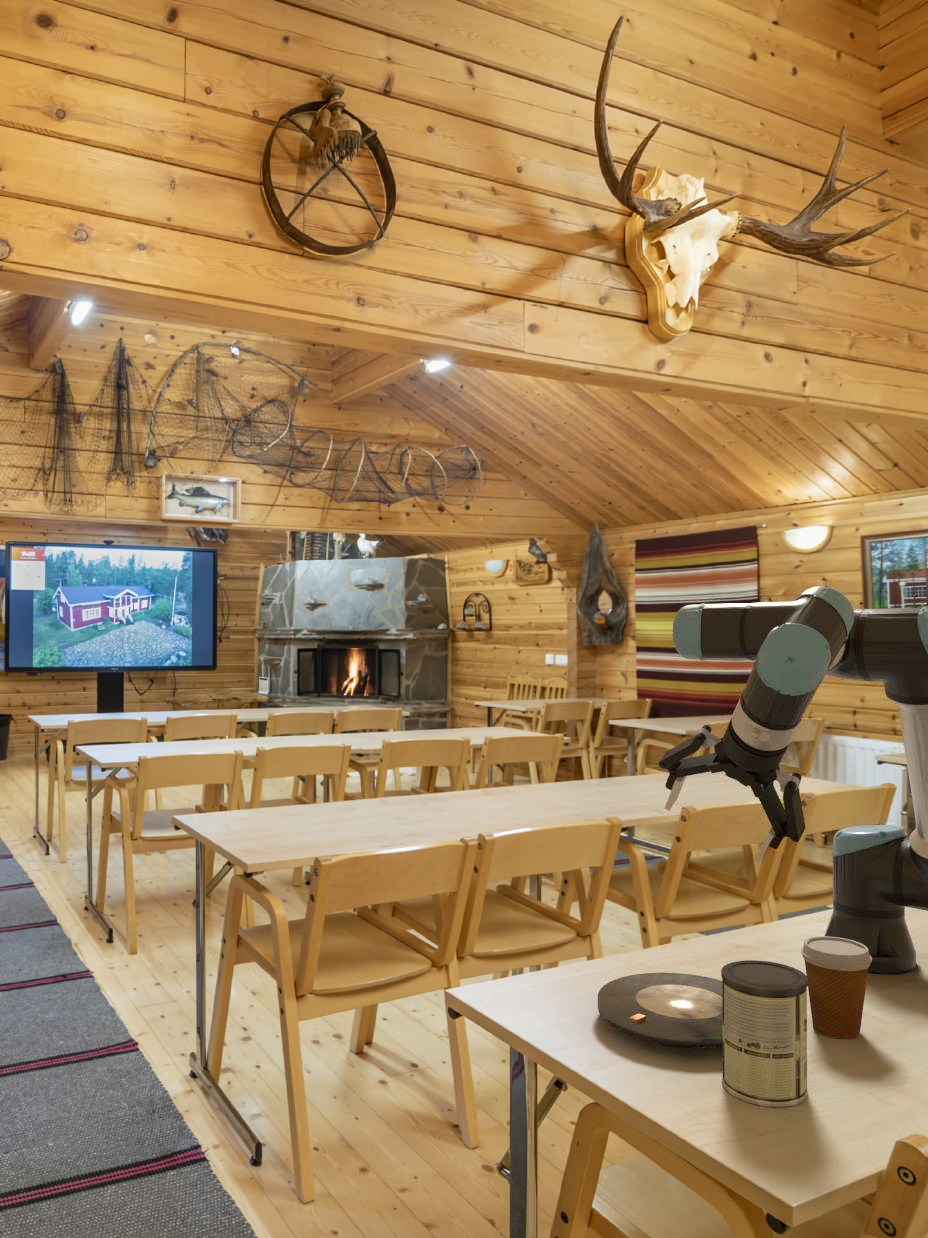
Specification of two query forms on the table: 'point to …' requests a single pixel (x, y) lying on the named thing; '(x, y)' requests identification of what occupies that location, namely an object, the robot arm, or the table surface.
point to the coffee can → (764, 1033)
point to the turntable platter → (665, 1008)
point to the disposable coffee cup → (836, 984)
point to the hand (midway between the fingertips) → (714, 828)
